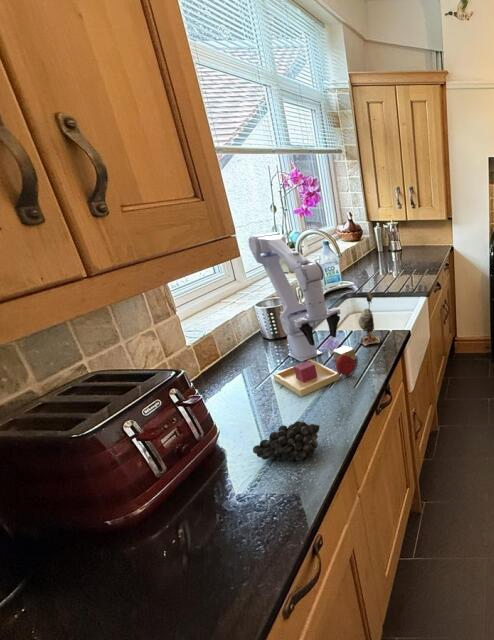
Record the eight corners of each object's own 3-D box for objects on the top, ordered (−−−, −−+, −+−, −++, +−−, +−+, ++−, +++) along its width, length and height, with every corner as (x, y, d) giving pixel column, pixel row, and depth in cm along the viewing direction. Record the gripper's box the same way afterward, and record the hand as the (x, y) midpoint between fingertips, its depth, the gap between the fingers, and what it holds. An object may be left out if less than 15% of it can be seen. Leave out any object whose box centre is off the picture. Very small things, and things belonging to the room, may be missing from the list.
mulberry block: (296, 378, 126) (293, 366, 125) (309, 373, 130) (307, 360, 128) (303, 382, 124) (300, 370, 122) (317, 377, 127) (314, 364, 125)
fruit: (240, 432, 87) (311, 425, 89) (259, 421, 96) (324, 414, 97) (244, 471, 88) (315, 463, 89) (263, 456, 96) (327, 449, 97)
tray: (274, 380, 127) (273, 374, 126) (312, 364, 136) (310, 359, 136) (301, 396, 118) (300, 390, 117) (339, 378, 127) (338, 373, 126)
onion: (359, 371, 131) (356, 349, 128) (352, 380, 126) (348, 357, 123) (342, 370, 132) (338, 348, 129) (334, 379, 126) (330, 357, 123)
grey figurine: (379, 333, 160) (372, 285, 152) (381, 345, 150) (374, 294, 142) (358, 336, 157) (350, 288, 150) (358, 348, 147) (350, 296, 140)
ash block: (334, 360, 139) (332, 350, 137) (347, 355, 142) (345, 345, 141) (343, 364, 136) (341, 354, 134) (355, 359, 140) (354, 348, 138)
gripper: (299, 310, 119) (308, 351, 124) (342, 297, 130) (349, 335, 135) (287, 306, 123) (296, 345, 128) (330, 293, 134) (337, 331, 139)
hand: (322, 340), depth 132 cm, fingers open, 7 cm apart
